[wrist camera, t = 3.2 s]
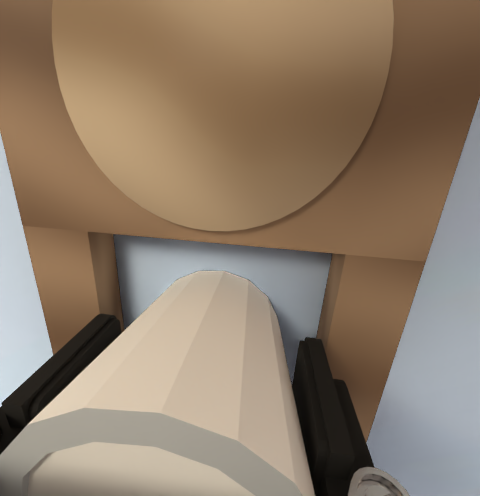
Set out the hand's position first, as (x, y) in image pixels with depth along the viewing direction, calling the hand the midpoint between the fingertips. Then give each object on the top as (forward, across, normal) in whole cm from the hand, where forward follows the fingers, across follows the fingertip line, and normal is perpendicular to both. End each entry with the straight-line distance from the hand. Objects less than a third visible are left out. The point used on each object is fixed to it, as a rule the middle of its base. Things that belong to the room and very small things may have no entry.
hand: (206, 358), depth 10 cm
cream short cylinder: (+2, 0, 0) cm, 2 cm away
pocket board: (+2, 0, -5) cm, 5 cm away
